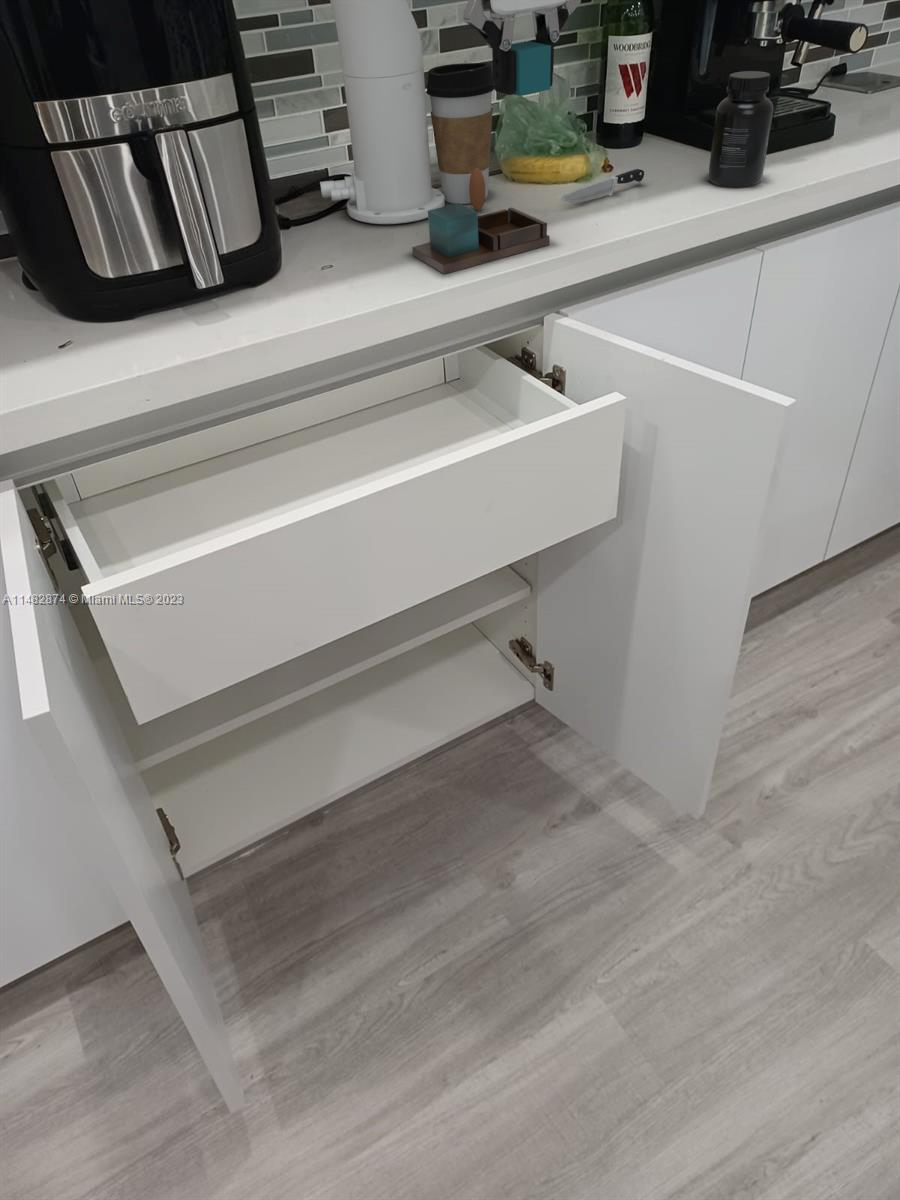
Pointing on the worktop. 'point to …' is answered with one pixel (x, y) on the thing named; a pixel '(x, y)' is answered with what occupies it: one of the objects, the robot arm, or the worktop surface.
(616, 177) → the knife
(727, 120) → the supplement bottle
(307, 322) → the worktop surface
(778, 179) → the worktop surface
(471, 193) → the orange ellipsoid
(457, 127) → the coffee cup
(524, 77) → the teal cube
